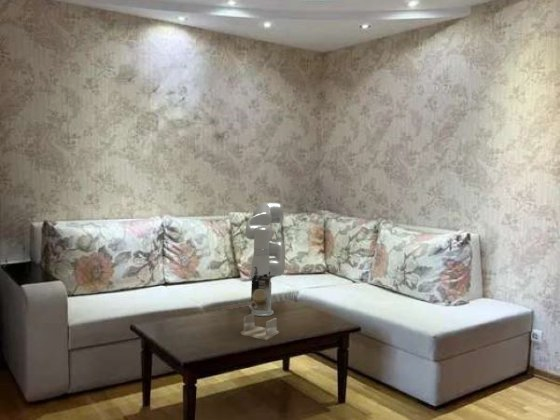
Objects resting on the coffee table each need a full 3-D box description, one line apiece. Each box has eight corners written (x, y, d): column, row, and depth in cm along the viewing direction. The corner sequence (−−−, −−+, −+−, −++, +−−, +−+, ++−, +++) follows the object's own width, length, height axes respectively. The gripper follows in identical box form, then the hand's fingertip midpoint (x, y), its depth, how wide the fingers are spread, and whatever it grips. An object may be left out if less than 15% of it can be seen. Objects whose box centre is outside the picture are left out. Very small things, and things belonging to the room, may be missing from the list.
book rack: (240, 334, 251) (240, 318, 251) (254, 327, 262) (254, 312, 261) (266, 340, 244) (266, 323, 243) (279, 333, 254) (279, 317, 253)
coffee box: (250, 310, 249) (250, 278, 247) (252, 306, 255) (252, 275, 254) (268, 311, 248) (269, 278, 246) (270, 307, 254) (271, 276, 253)
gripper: (264, 249, 258) (263, 282, 260) (244, 253, 243) (244, 289, 245) (277, 250, 254) (276, 284, 256) (257, 255, 240) (257, 291, 241)
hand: (260, 286), depth 250 cm, fingers closed on coffee box, 8 cm apart
